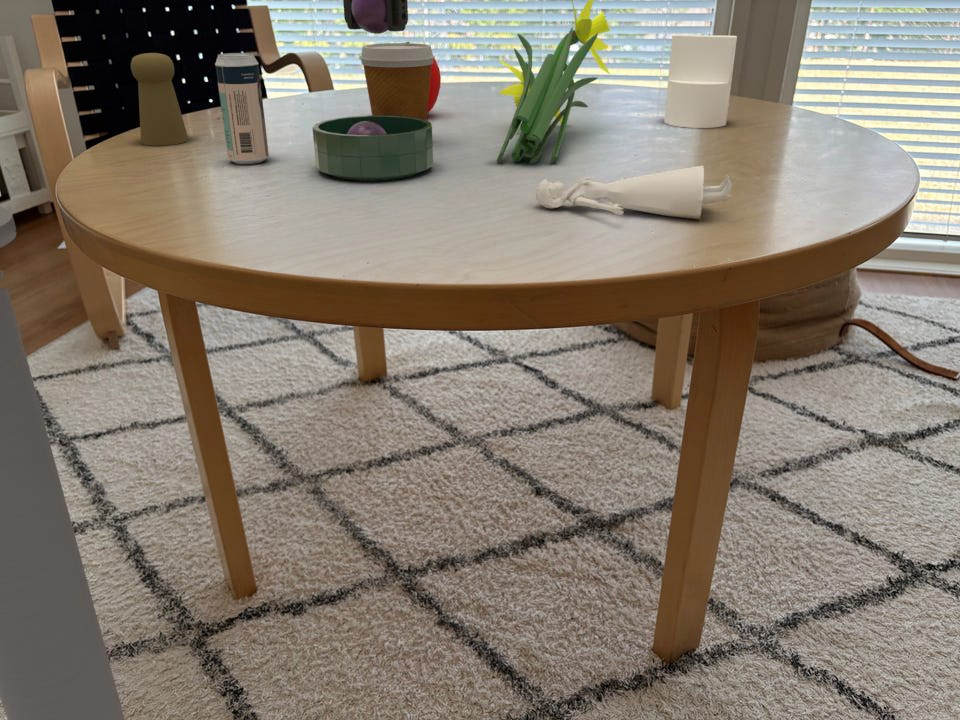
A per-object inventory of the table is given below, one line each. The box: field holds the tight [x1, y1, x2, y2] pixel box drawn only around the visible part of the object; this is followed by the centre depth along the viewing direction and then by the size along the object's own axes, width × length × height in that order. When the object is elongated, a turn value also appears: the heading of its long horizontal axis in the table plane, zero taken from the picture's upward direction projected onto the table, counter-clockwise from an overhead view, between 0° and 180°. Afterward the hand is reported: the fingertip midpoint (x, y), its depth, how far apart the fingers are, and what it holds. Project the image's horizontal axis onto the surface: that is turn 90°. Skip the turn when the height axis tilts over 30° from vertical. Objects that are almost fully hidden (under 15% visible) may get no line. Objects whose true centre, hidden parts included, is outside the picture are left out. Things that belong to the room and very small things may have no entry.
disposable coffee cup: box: [359, 42, 436, 121], centre depth 105 cm, size 10×10×12 cm
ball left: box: [347, 121, 387, 135], centre depth 91 cm, size 5×5×5 cm
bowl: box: [312, 114, 434, 182], centre depth 92 cm, size 13×13×5 cm
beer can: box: [214, 52, 270, 165], centre depth 95 cm, size 5×5×12 cm
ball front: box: [351, 0, 389, 35], centre depth 86 cm, size 5×5×5 cm
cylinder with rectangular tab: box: [663, 33, 738, 129], centre depth 118 cm, size 9×9×12 cm
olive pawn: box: [130, 52, 190, 147], centre depth 106 cm, size 6×6×11 cm
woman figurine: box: [534, 165, 732, 221], centre depth 76 cm, size 12×4×18 cm
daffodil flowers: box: [496, 0, 612, 165], centre depth 107 cm, size 17×15×35 cm
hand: (376, 29), depth 87 cm, fingers closed on ball front, 5 cm apart
